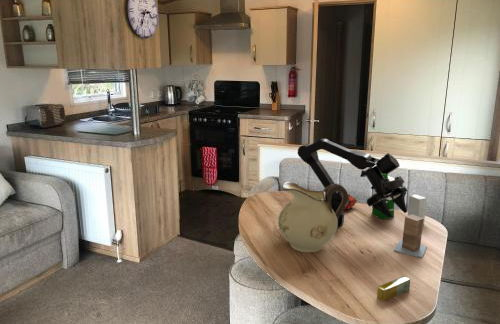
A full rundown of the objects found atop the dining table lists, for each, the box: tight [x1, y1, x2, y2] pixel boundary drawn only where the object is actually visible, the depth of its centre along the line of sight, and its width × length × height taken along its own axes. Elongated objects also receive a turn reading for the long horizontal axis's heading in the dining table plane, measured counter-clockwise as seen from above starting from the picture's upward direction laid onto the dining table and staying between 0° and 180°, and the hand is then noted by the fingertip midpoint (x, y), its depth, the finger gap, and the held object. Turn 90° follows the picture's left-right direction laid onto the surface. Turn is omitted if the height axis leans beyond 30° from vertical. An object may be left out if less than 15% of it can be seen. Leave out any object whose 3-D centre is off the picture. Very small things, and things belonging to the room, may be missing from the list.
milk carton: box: [371, 174, 395, 220], centre depth 178 cm, size 9×9×20 cm
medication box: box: [376, 275, 411, 302], centre depth 121 cm, size 12×3×4 cm, turn 121°
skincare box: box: [407, 194, 427, 225], centre depth 172 cm, size 6×4×12 cm
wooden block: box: [402, 214, 425, 252], centre depth 148 cm, size 4×5×12 cm
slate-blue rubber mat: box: [393, 239, 428, 259], centre depth 149 cm, size 10×10×1 cm
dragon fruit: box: [343, 193, 357, 211], centre depth 189 cm, size 8×8×12 cm
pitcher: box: [277, 181, 349, 254], centre depth 150 cm, size 22×24×25 cm
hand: (398, 215), depth 151 cm, fingers open, 9 cm apart
